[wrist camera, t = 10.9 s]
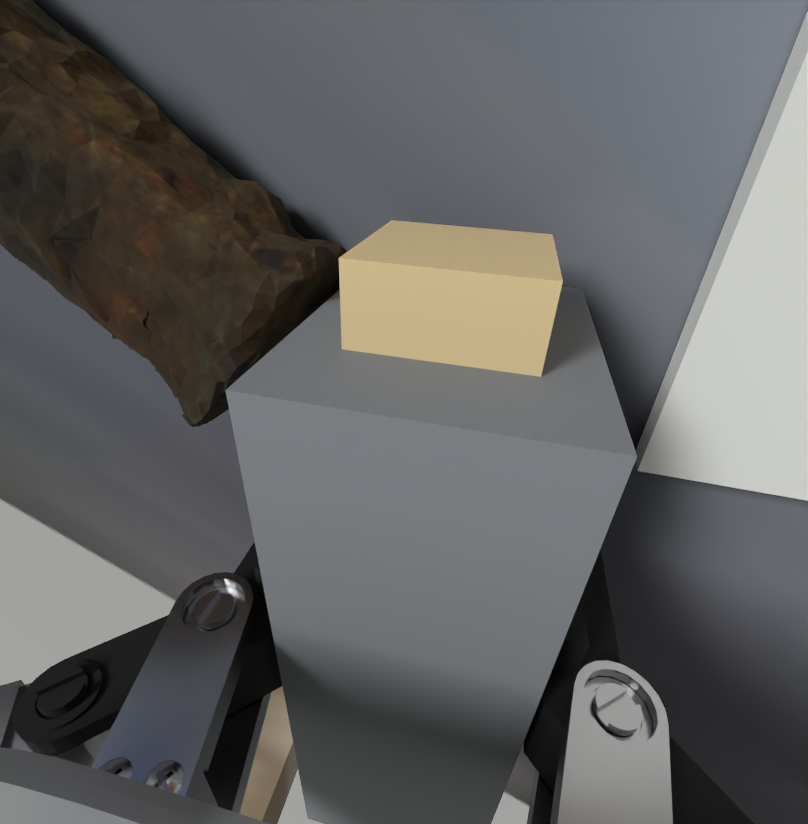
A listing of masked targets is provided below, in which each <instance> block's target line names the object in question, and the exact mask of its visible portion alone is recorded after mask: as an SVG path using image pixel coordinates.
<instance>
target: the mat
mask: <svg viewBox="0 0 808 824" xmlns="http://www.w3.org/2000/svg"><path fill="white" fill-rule="evenodd" d="M636 454H637V458H636V461H635V464H636V468H637V471H641V472H647V473H652V474H658V475H664V476H669V477H675V478H681V479H687V480H692V481H698V482H704V483H710V484H715V485H721V486H727V487H733V488H738V489H744V490H750V491H756V492H761V493H767V494H773V495H778V496H784V497H790V498H796V499H801V500H807V501H808V11H807V14H806V16H805V19H804V21H803V24H802V27H801V29H800V32H799V34H798V37H797V39H796V42H795V44H794V47H793V50H792V52H791V55H790V57H789V60H788V62H787V65H786V67H785V70H784V73H783V75H782V78H781V80H780V83H779V85H778V88H777V90H776V93H775V96H774V98H773V101H772V103H771V106H770V108H769V111H768V113H767V116H766V119H765V121H764V124H763V126H762V129H761V131H760V134H759V136H758V139H757V142H756V144H755V147H754V149H753V152H752V154H751V157H750V159H749V162H748V165H747V167H746V170H745V172H744V175H743V177H742V180H741V182H740V185H739V188H738V190H737V193H736V195H735V198H734V200H733V203H732V205H731V208H730V211H729V213H728V216H727V218H726V221H725V223H724V226H723V228H722V231H721V234H720V236H719V239H718V241H717V244H716V246H715V249H714V252H713V254H712V257H711V259H710V262H709V264H708V267H707V269H706V272H705V275H704V277H703V280H702V282H701V285H700V287H699V290H698V292H697V295H696V298H695V300H694V303H693V305H692V308H691V310H690V313H689V315H688V318H687V321H686V323H685V326H684V328H683V331H682V333H681V336H680V338H679V341H678V344H677V346H676V349H675V351H674V354H673V356H672V359H671V361H670V364H669V367H668V369H667V372H666V374H665V377H664V379H663V382H662V384H661V387H660V390H659V392H658V395H657V397H656V400H655V402H654V405H653V407H652V410H651V413H650V415H649V418H648V420H647V423H646V425H645V428H644V430H643V433H642V436H641V438H640V441H639V443H638V446H637V448H636Z"/></svg>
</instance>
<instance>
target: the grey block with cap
mask: <svg viewBox="0 0 808 824" xmlns="http://www.w3.org/2000/svg"><path fill="white" fill-rule="evenodd" d="M339 283H340V290H338V291H337V292H336V293H335V294H334V295H333V296H332V297H331V298H329V299H328V300H327V301H326V302H325V303H324V304H323V305H321V306H320V307H319V308H318V309H317V310H316V311H315V312H314V313H312V314H311V315H310V316H309V317H308V318H307V319H306V320H304V321H303V322H302V323H301V324H300V325H299V326H298V327H297V328H295V329H294V330H293V331H292V332H291V333H290V334H289V335H287V336H286V337H285V338H284V339H283V340H282V341H281V342H280V343H278V344H277V345H276V346H275V347H274V348H273V349H272V350H270V351H269V352H268V353H267V354H266V355H265V356H264V357H263V358H261V359H260V360H259V361H258V362H257V363H256V364H255V365H253V366H252V367H251V368H250V369H249V370H248V371H247V372H246V373H244V374H243V375H242V376H241V377H240V378H239V379H238V380H236V381H235V382H234V383H233V384H232V385H231V386H230V387H229V388H227V389H226V390H225V391H226V396H227V401H228V406H229V412H230V417H231V422H232V427H233V432H234V438H235V443H236V448H237V453H238V458H239V463H240V469H241V474H242V479H243V484H244V489H245V495H246V500H247V505H248V510H249V515H250V521H251V526H252V531H253V536H254V541H255V546H256V552H257V557H258V562H259V567H260V572H261V578H262V583H263V588H264V593H265V598H266V603H267V609H268V614H269V619H270V624H271V629H272V635H273V640H274V645H275V650H276V655H277V661H278V666H279V671H280V676H281V681H282V686H283V692H284V697H285V702H286V707H287V712H288V718H289V723H290V728H291V733H292V738H293V743H294V749H295V754H296V759H297V764H298V769H299V774H300V780H301V785H302V789H303V795H304V800H305V805H306V811H307V816H308V818H309V819H312V820H315V821H319V822H322V823H325V824H491V822H492V820H493V817H494V815H495V812H496V809H497V807H498V804H499V802H500V800H501V797H502V794H503V792H504V789H505V787H506V784H507V782H508V779H509V777H510V774H511V772H512V769H513V767H514V764H515V762H516V759H517V757H518V754H519V752H520V749H521V747H522V744H523V742H524V739H525V737H526V734H527V732H528V729H529V727H530V724H531V722H532V719H533V717H534V714H535V712H536V709H537V707H538V704H539V702H540V699H541V697H542V694H543V692H544V689H545V687H546V684H547V682H548V679H549V677H550V674H551V672H552V669H553V667H554V664H555V662H556V659H557V657H558V654H559V651H560V649H561V646H562V644H563V641H564V639H565V636H566V634H567V631H568V629H569V626H570V624H571V621H572V619H573V616H574V614H575V611H576V609H577V606H578V604H579V601H580V599H581V596H582V594H583V591H584V589H585V586H586V584H587V581H588V579H589V576H590V574H591V571H592V569H593V566H594V564H595V561H596V559H597V556H598V554H599V551H600V549H601V546H602V544H603V541H604V539H605V536H606V534H607V531H608V529H609V526H610V524H611V521H612V519H613V516H614V513H615V511H616V508H617V506H618V503H619V501H620V498H621V496H622V493H623V491H624V488H625V486H626V483H627V481H628V478H629V476H630V473H631V471H632V468H633V466H634V463H635V461H636V458H637V454H636V451H635V448H634V445H633V442H632V439H631V436H630V433H629V430H628V427H627V424H626V421H625V418H624V415H623V412H622V409H621V406H620V403H619V400H618V396H617V393H616V390H615V387H614V384H613V381H612V378H611V375H610V372H609V369H608V366H607V363H606V360H605V357H604V354H603V351H602V348H601V345H600V342H599V339H598V336H597V333H596V329H595V326H594V323H593V320H592V317H591V314H590V311H589V308H588V305H587V302H586V299H585V296H584V293H583V290H582V289H580V288H571V287H562V283H563V279H562V275H561V270H560V266H559V261H558V257H557V252H556V248H555V243H554V239H553V234H542V233H531V232H520V231H508V230H497V229H486V228H474V227H463V226H452V225H440V224H429V223H418V222H406V221H395V220H391V221H390V222H389V223H387V224H386V225H384V226H383V227H382V228H380V229H379V230H377V231H376V232H375V233H373V234H372V235H370V236H369V237H367V238H366V239H365V240H363V241H362V242H360V243H359V244H358V245H356V246H355V247H353V248H352V249H351V250H349V251H348V252H346V253H345V254H344V255H342V256H341V257H339Z"/></svg>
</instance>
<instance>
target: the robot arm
mask: <svg viewBox="0 0 808 824" xmlns="http://www.w3.org/2000/svg"><path fill="white" fill-rule="evenodd" d="M280 687H282V681H281V676H280V671H279V666H278V661H277V655H276V650H275V645H274V640H273V635H272V629H271V624H270V619H269V614H268V609H267V603H266V598H265V593H264V588H263V583H262V578H261V572H260V567H259V562H258V557H257V552H256V546H255V542H254V543H253V545H252V546H251V548H250V550H249V551H248V553H247V554H246V556H245V557H244V559H243V560H242V562H241V563H240V565H239V566H238V568H237V569H236V571H235V572H234V574H233V573H228V572H225V573H214V574H211V575H208V576H205V577H202V578H201V579H199V580H197V581H195V582H194V583H192V584H191V585H190V586H189V587H187V588H186V589H185V590H184V591H183V592H182V593H181V595H180V596H179V598H178V599H177V601H176V602H175V604H174V606H173V608H172V610H171V612H170V614H169V615H168V616H165V617H163V618H161V619H158V620H156V621H154V622H151V623H149V624H147V625H144V626H142V627H139V628H137V629H135V630H132V631H130V632H128V633H126V634H123V635H121V636H118V637H116V638H114V639H112V640H109V641H107V642H104V643H102V644H100V645H97V646H95V647H93V648H90V649H88V650H86V651H83V652H81V653H79V654H76V655H74V656H72V657H69V658H67V659H65V660H63V661H61V662H59V663H57V664H56V665H54V666H52V667H50V668H49V669H47V670H46V671H45V672H44V673H42V674H41V675H40V676H39V677H38V678H36V679H35V680H34V681H33V683H30V684H26V685H24V683H23V682H22V681H21V680H19V681H16V682H12V683H9V684H6V685H2V686H0V824H270V823H267V822H263V821H260V820H257V819H254V818H251V817H248V816H245V815H242V814H240V810H241V806H242V803H243V799H244V795H245V791H246V787H247V784H248V780H249V776H250V772H251V768H252V765H253V761H254V757H255V753H256V749H257V746H258V742H259V738H260V734H261V730H262V727H263V723H264V719H265V715H266V711H267V708H268V704H269V700H270V696H271V692H272V691H274V690H276V689H278V688H280ZM524 753H525V754H526V756H527V757H528V758H529V760H530V761H531V762H532V764H533V765H534V767H535V768H536V772H535V778H534V784H533V790H532V796H531V802H530V808H529V814H528V821H527V824H754V823H753V822H752V821H751V820H750V819H749V818H748V817H747V816H746V815H745V814H744V813H743V812H742V811H741V810H740V809H739V808H738V807H737V806H736V805H735V804H734V803H733V802H732V801H731V799H730V798H729V797H728V796H727V795H726V794H725V793H724V792H723V791H722V790H721V789H720V788H719V787H718V786H717V785H716V784H715V783H714V782H713V781H712V780H711V779H710V778H709V777H708V776H707V775H706V774H705V773H704V772H703V770H702V769H701V768H700V767H699V766H698V765H697V764H696V763H695V762H694V761H693V760H692V759H691V758H690V757H689V756H688V755H687V754H686V753H685V752H684V751H683V750H682V749H681V748H680V747H679V746H678V745H677V744H676V743H675V741H674V740H673V739H672V738H671V737H670V736H669V725H668V720H667V715H666V710H665V708H664V706H663V704H662V702H661V700H660V698H659V696H658V694H657V693H656V692H655V690H654V689H653V688H652V687H651V685H650V684H649V683H648V682H647V681H646V680H645V679H644V678H643V677H641V676H640V675H639V674H638V673H637V672H635V671H634V670H632V669H630V668H628V667H626V666H624V665H623V664H620V661H619V655H618V649H617V643H616V638H615V632H614V626H613V620H612V614H611V608H610V602H609V596H608V590H607V585H606V579H605V573H604V567H603V561H602V555H601V551H599V554H598V556H597V559H596V561H595V564H594V566H593V569H592V571H591V574H590V576H589V579H588V581H587V584H586V586H585V589H584V591H583V594H582V596H581V599H580V601H579V604H578V606H577V609H576V611H575V614H574V616H573V619H572V621H571V624H570V626H569V629H568V631H567V634H566V636H565V639H564V641H563V644H562V646H561V649H560V651H559V654H558V657H557V659H556V662H555V664H554V667H553V669H552V672H551V674H550V677H549V679H548V682H547V684H546V687H545V689H544V692H543V694H542V697H541V699H540V702H539V704H538V707H537V709H536V712H535V714H534V717H533V719H532V722H531V724H530V727H529V729H528V732H527V734H526V737H525V739H524Z"/></svg>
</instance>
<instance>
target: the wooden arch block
mask: <svg viewBox="0 0 808 824" xmlns="http://www.w3.org/2000/svg"><path fill="white" fill-rule="evenodd" d="M297 769H298V764H297V759H296V754H295V749H294V743H293V738H292V733H291V728H290V723H289V718H288V712H287V707H286V702H285V697H284V692H283V686H282V687H280V688H278V689H276V690H274V691H272V692H271V696H270V700H269V704H268V708H267V711H266V715H265V719H264V723H263V727H262V730H261V734H260V738H259V742H258V746H257V749H256V753H255V757H254V761H253V765H252V768H251V772H250V776H249V780H248V784H247V787H246V791H245V795H244V799H243V803H242V806H241V810H240V814H242V815H245V816H248V817H251V818H254V819H257V820H260V821H263V822H267V823H270V824H277V823H278V820H279V817H280V815H281V812H282V809H283V807H284V804H285V801H286V799H287V796H288V793H289V790H290V788H291V785H292V782H293V780H294V777H295V774H296V772H297Z"/></svg>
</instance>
